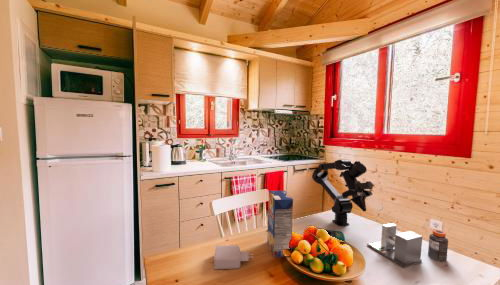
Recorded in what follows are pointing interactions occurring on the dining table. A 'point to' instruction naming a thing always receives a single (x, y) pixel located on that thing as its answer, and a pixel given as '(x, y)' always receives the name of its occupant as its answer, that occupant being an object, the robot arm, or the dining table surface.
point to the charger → (229, 257)
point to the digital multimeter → (336, 234)
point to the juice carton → (279, 222)
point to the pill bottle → (438, 245)
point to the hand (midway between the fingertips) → (365, 211)
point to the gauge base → (402, 249)
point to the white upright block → (388, 236)
